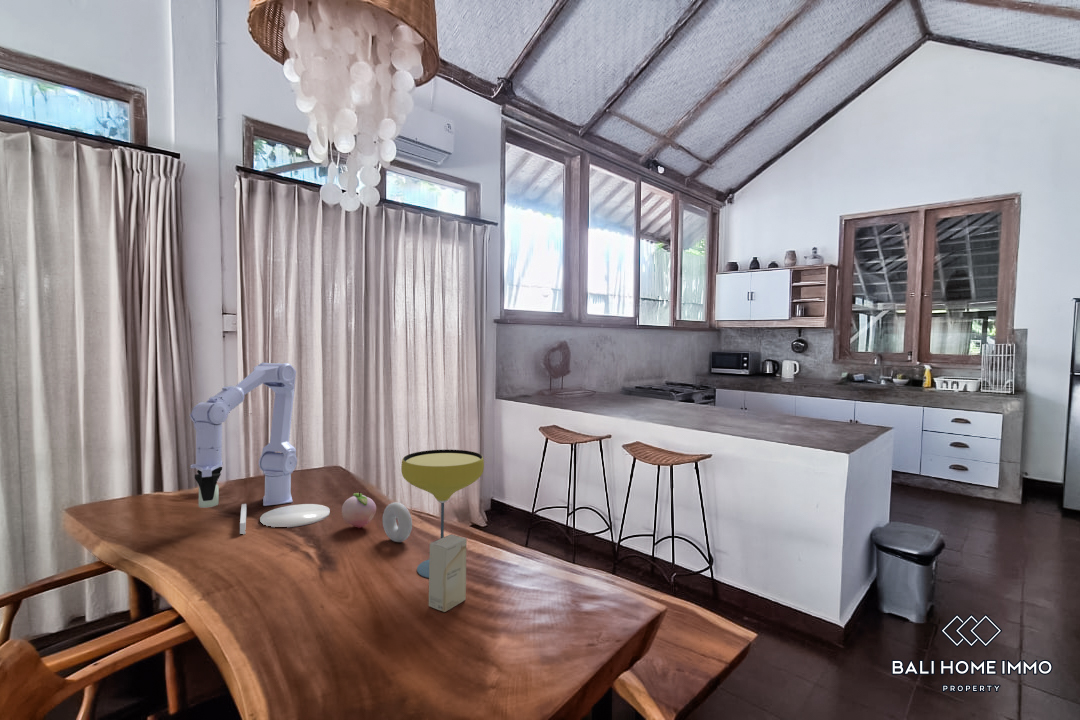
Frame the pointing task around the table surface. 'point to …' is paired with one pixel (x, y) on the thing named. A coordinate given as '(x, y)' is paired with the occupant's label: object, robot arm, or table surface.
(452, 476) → the cocktail glass
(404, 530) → the donut
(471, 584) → the table surface
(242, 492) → the table surface
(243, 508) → the light grey rectangular bar
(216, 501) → the green cylinder
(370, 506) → the decorative fruit
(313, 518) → the white plate
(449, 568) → the skincare box
